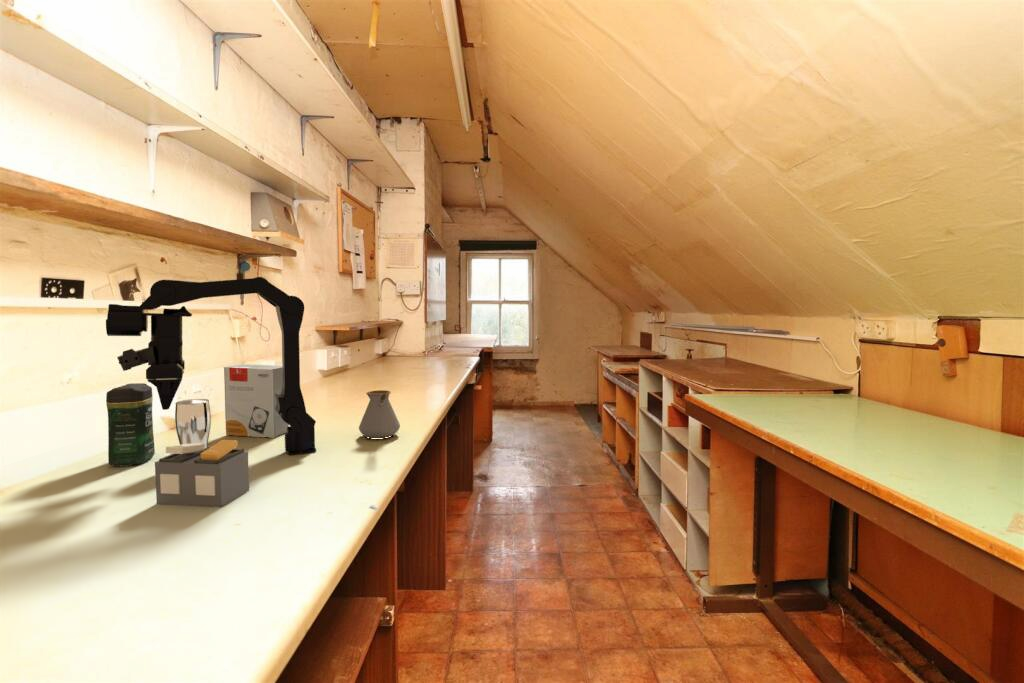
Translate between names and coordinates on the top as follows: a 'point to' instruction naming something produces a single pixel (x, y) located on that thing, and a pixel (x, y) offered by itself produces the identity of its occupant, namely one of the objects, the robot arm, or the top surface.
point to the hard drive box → (253, 400)
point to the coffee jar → (130, 424)
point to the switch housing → (201, 479)
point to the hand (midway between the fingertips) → (166, 405)
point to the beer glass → (193, 421)
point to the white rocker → (185, 448)
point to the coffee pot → (379, 416)
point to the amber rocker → (219, 450)
